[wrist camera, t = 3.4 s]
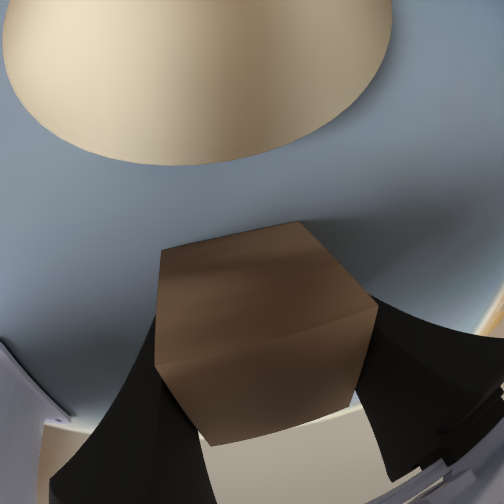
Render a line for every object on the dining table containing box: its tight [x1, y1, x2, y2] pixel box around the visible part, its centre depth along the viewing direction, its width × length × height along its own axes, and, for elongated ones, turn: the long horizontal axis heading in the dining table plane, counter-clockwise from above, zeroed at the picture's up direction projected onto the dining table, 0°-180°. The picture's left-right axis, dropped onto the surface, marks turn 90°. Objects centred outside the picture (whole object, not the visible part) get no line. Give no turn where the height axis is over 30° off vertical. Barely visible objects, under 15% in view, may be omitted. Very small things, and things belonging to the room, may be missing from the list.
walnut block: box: [155, 221, 378, 446], centre depth 9 cm, size 5×5×5 cm
